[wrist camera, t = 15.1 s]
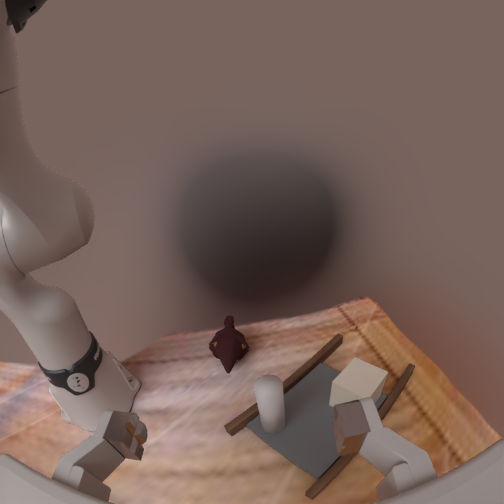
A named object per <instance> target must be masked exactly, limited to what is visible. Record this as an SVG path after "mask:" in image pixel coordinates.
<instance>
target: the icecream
mask: <svg viewBox="0 0 504 504" xmlns="http://www.w3.org/2000/svg"><path fill="white" fill-rule="evenodd" d="M224 324H225V328H224V329H222V330H220V331H218V332H217V333H216V335H215V336H214V338H213V339H212V341H211V342H210V343H209V345H210V347H209V349H210V350H211V351H212V353H213V355H214V356H215V357H216V358H218V359H220V360H221V362H222V364H223V366H224V368H225V370H226V372H227V373H230V372H231V370H232V368H233V366H234V364H235V363H236V361H237V360H240V359H241V358H242V357H243V356H244V355H245V354H246V353H247V352H248V348H249V346H248V344H247V343H246V341H245V339H244V335H243V334H242V333H240V332H239V331H238V330H236V329H235V328H234V327H235V326H234V319H233V316H227V317H226V319H225V322H224Z"/></svg>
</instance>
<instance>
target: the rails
mask: <svg viewBox="0 0 504 504" xmlns="http://www.w3.org/2000/svg"><path fill="white" fill-rule="evenodd" d="M342 339H343V336H342V335H340V334H337V335H336V336H335V337H334V338H333V339H331V340H330V341H329V342H328V343H327V344H326V345H325V346H324V347H323V348H322V349H321V350H320V351H319V352H317V353H316V354H315V355H314V356H313V357H312V358H311V359H310V360H308V361H307V362H306V363H305V364H304V365H303V366H302V367H300V368H299V369H298V370H297V371H296V372H295V373H293V374H292V375H291V376H290V377H289V378H287V379H286V380H285V381H284V382H283V393H284V394H286V393H287V392H288V391H289V390H290V389H292V388H293V387H294V386H295V385H296V384H297V383H299V382H300V381H301V380H302V379H303V378H304V377H305V376H306V375H308V374H309V373H310V372H311V371H312V370H313V369H314V368H315V367H316V366H317V365H318V364H320V363H322V362H323V361H324V360H325V359H327V358H328V357H329V356H330V355H331V354H332V353H333V352H334V351H335V350H336V349H337V348H338V347H339V346H340V345H341V344H342ZM414 368H415V365H412V364H409V365H408V367H407V369H406V370H405V372H404V374H403V375H402V377H401V378H400V380H399V382H398V383H397V385H396V386H395V388H394V389H393V391H392V392H391V394H390V395H389V397H388V398H387V400H386V401H385V403H384V404H383V405H382V407H381V408H380V410H379V411H378V413H379V416H380V419H381V421H382V420H383V419H384V417H385V416H386V414H387V413H388V411H389V410H390V408H391V407H392V405H393V404H394V402H395V401H396V399H397V398H398V396H399V395H400V393H401V391H402V390H403V388H404V387H405V385H406V383H407V382H408V380H409V378H410V376H411V375H412V373H413V370H414ZM258 415H259V410H258V405H257V403H256V404H254V405H253V406H252V407H250V408H249V409H247V410H246V411H245V412H243V413H242V414H241V415H239V416H238V417H236V418H235V419H233V420H232V421H231V422H229V423H228V424H226V425H225V429H226V431H227V432H228V433H229V434H230V435H231V436H233V435H235V434H236V433H237V432H239V431H240V430H242V429H243V428H244V427H246V426H247V423H249V422H250V421H251V420H253V419H254V418H255V417H257V416H258ZM356 454H357V452H356V453H352V454H347V455H343V456H341V457H340V459H339V460H338V461H337V462H336V463H335V464H334V465H333V466H332V467H331V468H330V469H329V470H328V471H327V472H326V473H325V474H324V475H323V476H322V477H321V478H320V479H319V480H318V481H317V482H316V483H315V484H314V485H313V486H312V487H311V488H310V489H308V490H307V491H306V496H307V497H309V498H310V499H312V500H313V499H314V498H315V497H316V496H317V495H318V494H319V493H320V492H321V491H322V490H323V489H324V488H325V487H326V486H327V485H328V484H329V483H330V482H331V481H332V480H333V479H334V478H335V477H336V476H337V475H338V474H339V473H340V472H341V471H342V469H343V468H344V467H345V466H346V465H347V464H348V463H349V462H350V461H351V459H352V458H353V457H354V456H355V455H356Z"/></svg>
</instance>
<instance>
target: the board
mask: <svg viewBox="0 0 504 504" xmlns="http://www.w3.org/2000/svg"><path fill="white" fill-rule="evenodd" d="M339 374H340V372H338V371H336V370H334V369H332V368H331V367H329V366H327V365H325V364H323V363H320V364H318V365H317V366H316V367H315V368H314V369H313V370H312V371H311V372H310V373H309V374H308V375H306V376H305V377H304V378H303V379H302V380H301V381H300V382H299V383H297V384H296V385H295V386H294V387H293V388H292V389H290V390H289V391H288V392H287V393H286V394H284V393H283V382H282V380H281V379H280V378H279V377H277V376H274V375H265V376H262V377H260V378H258V379H257V380H256V381H255V383H254V390H255V395H256V400H257V405H258V410H259V415H258V416H257V417H255V418H254V419H253V420H251V421H250V422H249V423H247V427H248V428H249V429H250V430H251V431H252V432H254V433H255V434H256V435H257V436H259V437H260V438H261V439H262V440H263V441H265V442H266V443H267V444H269V445H270V446H271V447H272V448H274V449H275V450H276V451H278V452H279V453H280V454H282V455H283V456H284V457H286V458H287V459H288V460H290V461H291V462H293V463H294V464H295V465H297V466H298V467H300V468H301V469H303V470H304V471H306V472H307V473H309V474H310V475H312V476H313V477H315V478H316V479H319V478H320V477H321V476H322V475H323V474H324V473H325V472H326V471H327V470H328V469H329V468H330V467H331V466H332V465H333V464H334V463H335V462H336V461H337V460H338V459H339V457H340V456H339V455H338V451H337V447H336V440H337V437H336V436H335V435H334V434H333V430H332V415H333V414H334V411H333V408H334V407H332V406H330V405H329V402H330V395H331V387H332V381H333V380H334V379H335V378H336V377H337V376H338V375H339ZM387 396H388V395H386V394H384V393H381V396H380V397H379V399H378V400H377V401H376V403H375V406H376V408H377V411H378V410H379V408H380V407H381V406H382V404H383V403H384V401H385V400H386V399H387Z"/></svg>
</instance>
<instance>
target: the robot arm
mask: <svg viewBox="0 0 504 504" xmlns="http://www.w3.org/2000/svg"><path fill="white" fill-rule="evenodd" d="M46 1H47V0H0V310H1V311H2V312H3V313H5V315H6V316H7V317H8V318H9V319H10V320H11V321H12V322H13V324H14V325H15V326H16V327H17V329H18V330H19V331H20V333H21V335H22V336H23V338H24V340H25V341H26V343H27V344H28V346H29V347H30V349H31V350H32V352H33V353H34V355H35V356H36V358H37V360H38V364H39V366H40V368H41V370H42V372H43V374H44V375H45V377H46V378H47V379H48V380H49V382H50V383H49V392H50V393H51V395H52V396H53V398H54V399H55V401H56V402H57V403H58V405H59V406H60V408H61V417H62V419H63V420H64V421H65V422H66V423H71V424H76V425H78V426H79V427H81V428H83V429H85V430H88V431H95V433H94V436H90V437H88V438H87V439H86V440H84V441H83V442H82V443H80V444H79V445H78V446H76V447H75V448H74V449H72V450H71V451H69V452H68V453H67V454H65V455H64V456H63V457H61V458H60V459H59V462H58V464H57V467H56V469H55V472H54V475H53V477H52V479H51V478H49V477H47V476H45V475H43V474H41V473H40V472H38V471H36V470H34V469H32V468H31V467H29V466H27V465H25V464H24V463H22V462H20V461H19V460H17V459H16V458H14V457H12V456H11V455H9V454H2V455H0V504H114V503H110V502H108V500H109V496H110V492H111V489H110V487H108V486H107V485H105V484H104V483H102V482H103V481H104V480H105V479H106V478H107V477H108V476H109V475H110V474H111V473H112V472H113V471H114V470H115V469H116V468H117V467H118V466H119V465H120V464H121V463H122V462H123V461H124V460H125V458H128V459H134V460H140V461H141V459H142V455H143V451H144V448H143V446H142V444H143V443H145V442H146V440H147V428H146V426H145V424H144V423H143V422H141V421H139V416H138V415H137V414H136V413H129V411H130V409H131V407H132V403H133V399H134V396H135V394H136V393H137V391H138V390H139V388H140V386H141V384H140V382H139V381H138V380H137V379H136V378H135V377H134V376H133V375H132V374H131V373H130V372H129V371H128V370H127V369H126V368H125V367H124V366H123V365H122V364H121V363H120V362H119V361H118V360H117V359H116V358H115V357H114V356H113V355H112V354H111V353H110V352H108V351H107V352H105V351H104V350H103V349H102V348H101V347H100V346H99V343H98V341H97V340H96V338H95V337H94V336H93V334H92V333H91V332H90V331H88V328H87V326H86V324H85V322H84V320H83V318H82V316H81V314H80V311H79V309H78V307H77V305H76V302H75V300H74V299H73V298H72V296H70V295H69V294H68V293H67V292H66V291H64V290H63V289H61V288H58V287H54V286H47V285H44V284H41V283H40V282H38V281H36V280H35V279H34V278H33V277H32V276H31V275H30V273H29V272H31V271H34V270H36V269H39V268H41V267H44V266H47V265H49V264H52V263H54V262H57V261H60V260H62V259H64V258H66V257H67V256H69V255H70V254H72V253H74V252H75V251H77V250H79V249H80V248H81V247H83V246H85V245H86V244H88V242H89V240H90V238H91V235H92V232H93V228H94V221H95V219H94V217H95V215H94V209H93V204H92V201H91V199H90V197H89V195H88V193H87V192H86V190H85V189H84V188H83V187H82V186H81V185H80V184H79V183H77V182H76V181H74V180H72V179H69V178H66V177H64V176H61V175H59V174H57V173H56V172H54V171H52V170H51V169H50V168H49V167H47V166H46V165H45V164H44V163H43V162H42V161H41V160H40V158H39V157H38V156H37V155H36V153H35V152H34V150H33V148H32V146H31V144H30V142H29V139H28V136H27V132H26V129H25V125H24V120H23V115H22V108H21V100H20V88H18V87H19V73H18V62H17V52H16V45H15V38H14V31H13V27H14V29H15V31H16V33H19V32H20V31H21V30H22V29H23V28H24V27H25V25H26V22H27V19H29V18H30V17H31V16H32V15H34V14H35V13H36V12H37V11H38V10H39V9H40V8H41V7H42V6H43V4H44V3H45V2H46ZM12 24H13V27H12ZM333 411H334V414H333V415H332V430H333V434H334V435H335V436H336V437H337V440H336V447H337V451H338V455H339V456H343V455H347V454H352V453H356V452H359V454H361V455H362V456H363V457H364V458H365V459H366V460H367V461H368V462H370V463H371V464H372V465H373V466H374V467H375V468H377V469H378V470H379V471H380V472H381V473H383V474H384V475H385V476H386V477H385V478H384V479H383V480H382V481H381V482H380V483H379V485H378V486H377V487H376V488H377V492H378V496H379V500H380V501H379V502H375V503H372V504H504V439H500V440H498V441H497V442H495V443H494V444H493V445H491V446H490V447H488V448H487V449H485V450H484V451H482V452H481V453H479V454H478V455H476V456H475V457H473V458H471V459H470V460H468V461H467V462H465V463H463V464H461V465H460V466H458V467H456V468H454V469H453V470H451V471H449V472H447V473H445V474H443V475H441V476H439V477H437V475H436V472H435V470H434V467H433V465H432V462H431V460H430V457H429V455H428V452H426V451H424V450H423V449H421V448H419V447H418V446H416V445H415V444H413V443H411V442H410V441H408V440H407V439H405V438H403V437H402V436H400V435H399V434H397V433H396V432H394V431H393V430H391V429H390V428H388V427H386V428H384V426H383V424H382V421H381V419H380V416H379V413H378V411H377V408H376V406H375V403H374V401H373V399H372V398H371V397H366V398H362V399H359V400H354V401H350V402H345V403H341V404H337V405H334V408H333Z"/></svg>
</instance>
